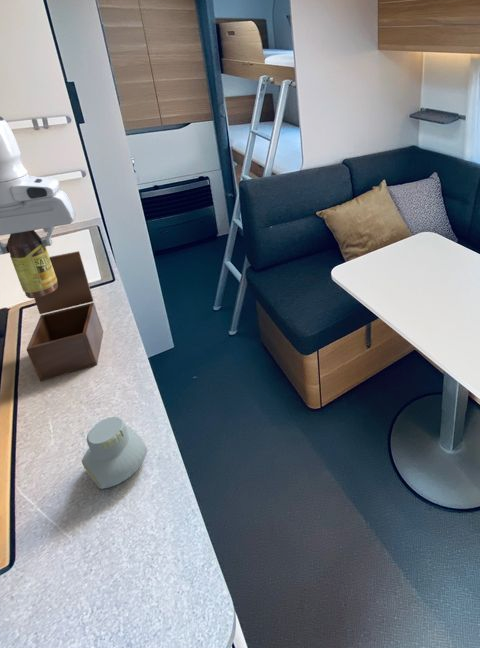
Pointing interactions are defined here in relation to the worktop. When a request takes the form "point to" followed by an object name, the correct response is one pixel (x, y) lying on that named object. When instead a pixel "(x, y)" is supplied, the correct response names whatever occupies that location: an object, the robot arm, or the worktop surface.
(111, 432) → the air freshener
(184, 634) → the worktop surface
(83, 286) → the bin lid
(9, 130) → the robot arm
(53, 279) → the sauce bottle
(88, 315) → the bin
